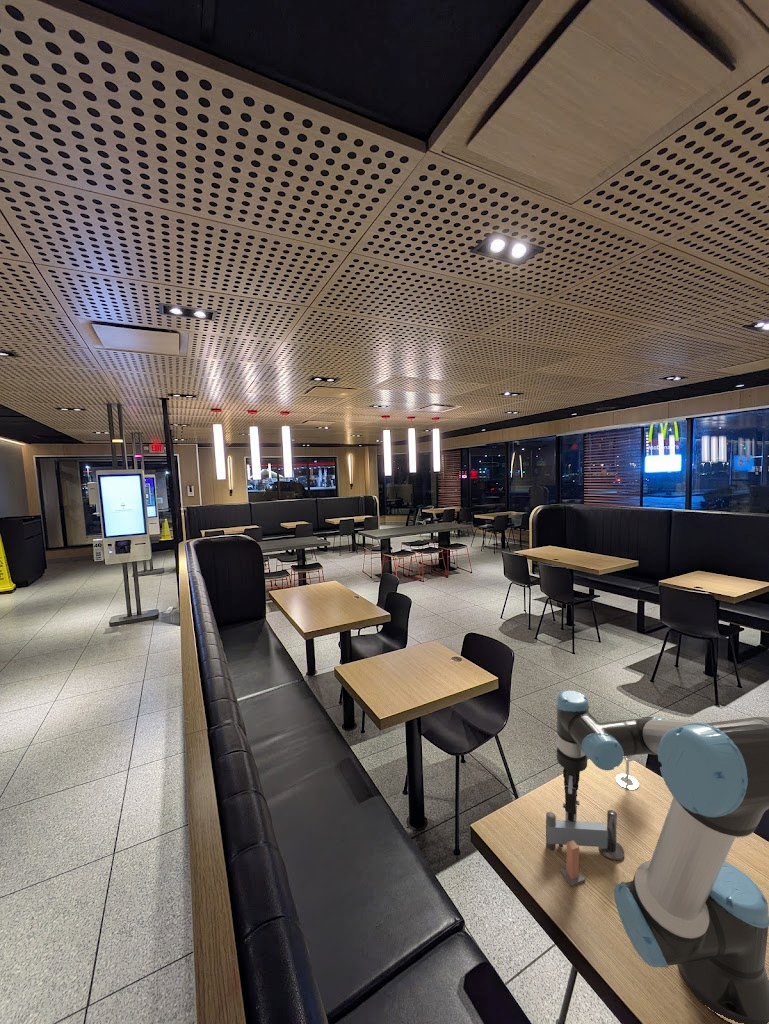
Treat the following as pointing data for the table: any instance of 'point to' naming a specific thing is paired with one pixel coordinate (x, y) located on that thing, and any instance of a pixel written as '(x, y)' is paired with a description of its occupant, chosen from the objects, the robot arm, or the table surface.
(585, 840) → the gate
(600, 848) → the hinge post
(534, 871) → the table surface
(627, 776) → the wineglass
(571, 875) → the post
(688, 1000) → the table surface
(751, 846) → the table surface
